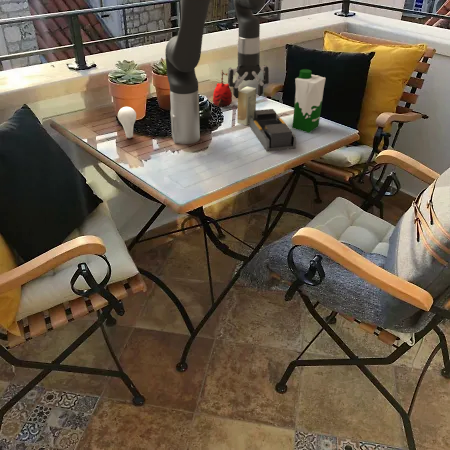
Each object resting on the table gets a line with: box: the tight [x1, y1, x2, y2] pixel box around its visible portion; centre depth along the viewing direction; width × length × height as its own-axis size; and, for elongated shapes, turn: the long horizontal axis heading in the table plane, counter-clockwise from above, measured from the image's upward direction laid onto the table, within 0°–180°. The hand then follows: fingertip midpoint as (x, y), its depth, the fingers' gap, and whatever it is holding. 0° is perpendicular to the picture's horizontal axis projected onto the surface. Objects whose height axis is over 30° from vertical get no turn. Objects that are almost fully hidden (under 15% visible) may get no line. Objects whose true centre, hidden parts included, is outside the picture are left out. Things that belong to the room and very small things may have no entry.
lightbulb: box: [117, 106, 137, 139], centre depth 160 cm, size 6×6×11 cm
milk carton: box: [291, 68, 326, 133], centre depth 165 cm, size 9×9×20 cm
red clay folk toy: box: [212, 69, 233, 108], centre depth 185 cm, size 8×7×15 cm
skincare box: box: [236, 86, 257, 126], centre depth 172 cm, size 6×4×12 cm
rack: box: [248, 108, 297, 152], centre depth 163 cm, size 10×21×6 cm, turn 13°
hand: (248, 96), depth 170 cm, fingers open, 8 cm apart
